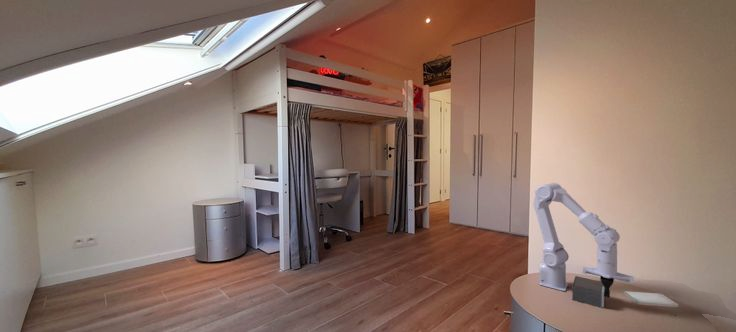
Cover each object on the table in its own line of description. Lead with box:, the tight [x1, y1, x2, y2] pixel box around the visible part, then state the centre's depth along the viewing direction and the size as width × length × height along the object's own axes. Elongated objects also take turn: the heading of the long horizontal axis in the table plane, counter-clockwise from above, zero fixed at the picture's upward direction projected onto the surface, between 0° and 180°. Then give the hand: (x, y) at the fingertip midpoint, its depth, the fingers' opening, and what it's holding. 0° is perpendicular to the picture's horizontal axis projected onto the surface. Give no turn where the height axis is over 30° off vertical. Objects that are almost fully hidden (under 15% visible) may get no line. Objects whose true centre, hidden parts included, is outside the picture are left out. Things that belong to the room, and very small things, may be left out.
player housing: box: [571, 275, 603, 308], centre depth 111 cm, size 9×9×6 cm
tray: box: [601, 285, 606, 308], centre depth 110 cm, size 9×9×6 cm
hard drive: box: [623, 290, 679, 308], centre depth 108 cm, size 2×8×12 cm
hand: (606, 296), depth 107 cm, fingers closed
